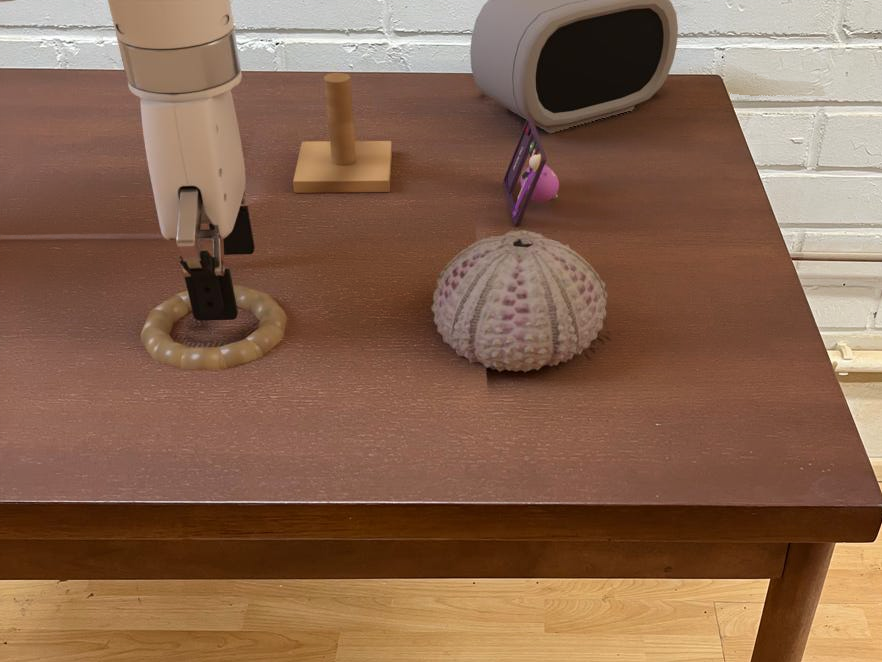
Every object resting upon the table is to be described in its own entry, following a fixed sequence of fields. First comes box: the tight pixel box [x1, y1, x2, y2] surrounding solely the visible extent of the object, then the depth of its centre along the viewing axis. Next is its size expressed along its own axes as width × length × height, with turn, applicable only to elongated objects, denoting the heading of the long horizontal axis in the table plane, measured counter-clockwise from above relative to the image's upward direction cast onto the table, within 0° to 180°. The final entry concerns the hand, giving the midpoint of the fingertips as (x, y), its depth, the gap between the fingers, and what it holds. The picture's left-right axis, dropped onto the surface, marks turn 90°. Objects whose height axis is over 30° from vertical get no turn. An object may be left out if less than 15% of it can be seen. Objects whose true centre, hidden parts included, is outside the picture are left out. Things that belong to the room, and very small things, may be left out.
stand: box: [292, 72, 393, 194], centre depth 96 cm, size 9×9×9 cm
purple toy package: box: [502, 117, 560, 227], centre depth 92 cm, size 7×5×9 cm
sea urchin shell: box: [430, 229, 609, 373], centre depth 75 cm, size 13×14×8 cm
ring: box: [140, 284, 288, 371], centre depth 76 cm, size 11×11×2 cm
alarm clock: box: [469, 0, 679, 134], centre depth 106 cm, size 21×10×13 cm, turn 123°
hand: (226, 284), depth 78 cm, fingers open, 9 cm apart
